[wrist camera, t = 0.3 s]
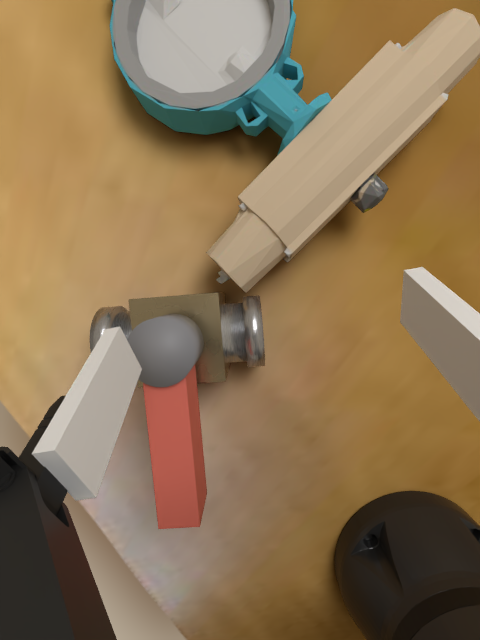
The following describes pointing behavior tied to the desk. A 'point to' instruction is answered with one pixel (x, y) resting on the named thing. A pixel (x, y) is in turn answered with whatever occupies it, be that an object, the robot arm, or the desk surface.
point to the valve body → (211, 317)
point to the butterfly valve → (285, 109)
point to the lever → (173, 416)
